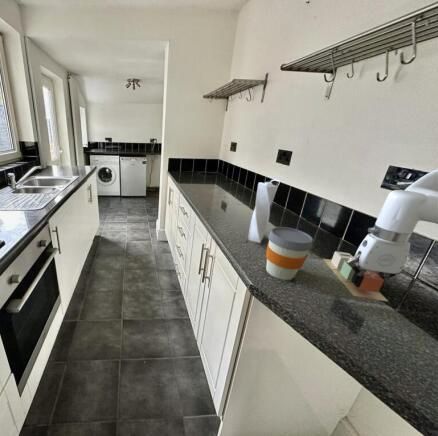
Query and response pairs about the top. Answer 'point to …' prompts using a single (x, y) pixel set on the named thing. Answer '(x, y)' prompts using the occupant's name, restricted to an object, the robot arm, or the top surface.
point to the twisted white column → (262, 210)
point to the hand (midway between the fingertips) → (365, 285)
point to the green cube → (347, 271)
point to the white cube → (340, 259)
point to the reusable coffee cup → (287, 252)
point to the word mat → (352, 287)
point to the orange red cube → (371, 282)
